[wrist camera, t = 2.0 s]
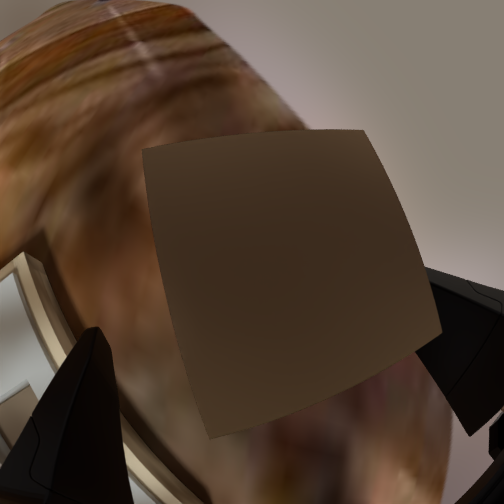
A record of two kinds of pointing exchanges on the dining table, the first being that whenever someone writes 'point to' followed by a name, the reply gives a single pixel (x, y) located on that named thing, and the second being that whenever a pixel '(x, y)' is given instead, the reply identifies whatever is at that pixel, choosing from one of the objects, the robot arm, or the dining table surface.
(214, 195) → the peg
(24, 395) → the tray
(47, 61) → the dining table surface
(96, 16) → the dining table surface
